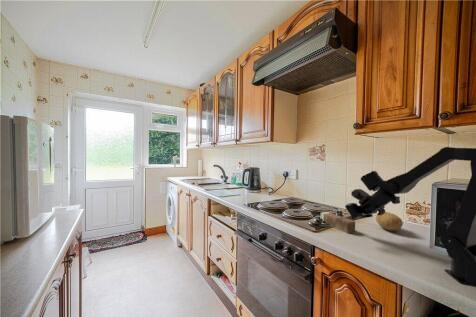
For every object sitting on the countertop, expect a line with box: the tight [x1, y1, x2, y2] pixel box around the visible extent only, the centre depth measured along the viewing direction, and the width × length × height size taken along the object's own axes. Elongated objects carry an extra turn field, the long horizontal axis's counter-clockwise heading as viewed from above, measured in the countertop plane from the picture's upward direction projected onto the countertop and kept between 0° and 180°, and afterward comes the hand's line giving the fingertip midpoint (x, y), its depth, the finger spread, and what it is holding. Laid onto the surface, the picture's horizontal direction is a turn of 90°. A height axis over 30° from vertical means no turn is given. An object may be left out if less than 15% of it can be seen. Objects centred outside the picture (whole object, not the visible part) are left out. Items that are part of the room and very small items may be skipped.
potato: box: [375, 211, 404, 232], centre depth 98 cm, size 10×14×8 cm
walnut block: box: [320, 211, 356, 234], centre depth 100 cm, size 5×5×16 cm
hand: (352, 218), depth 92 cm, fingers closed
